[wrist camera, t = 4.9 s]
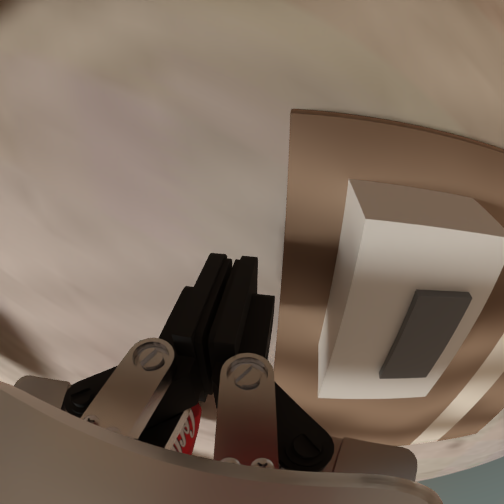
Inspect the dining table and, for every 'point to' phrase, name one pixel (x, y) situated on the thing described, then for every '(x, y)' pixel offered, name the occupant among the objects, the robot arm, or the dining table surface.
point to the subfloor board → (324, 259)
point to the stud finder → (404, 289)
